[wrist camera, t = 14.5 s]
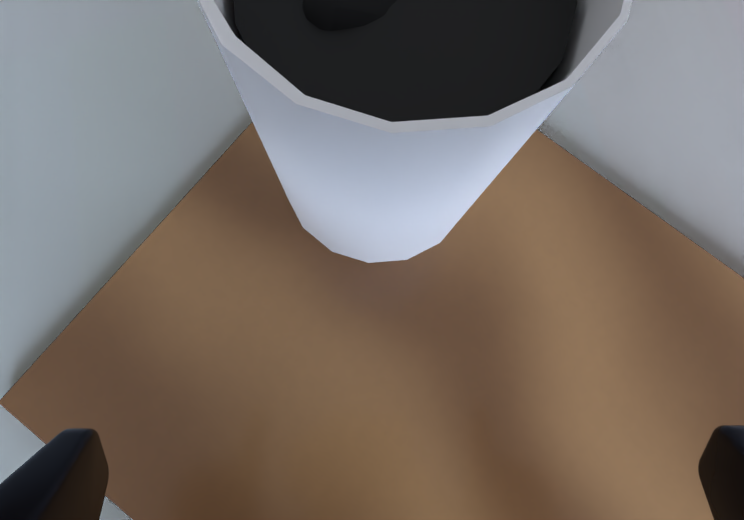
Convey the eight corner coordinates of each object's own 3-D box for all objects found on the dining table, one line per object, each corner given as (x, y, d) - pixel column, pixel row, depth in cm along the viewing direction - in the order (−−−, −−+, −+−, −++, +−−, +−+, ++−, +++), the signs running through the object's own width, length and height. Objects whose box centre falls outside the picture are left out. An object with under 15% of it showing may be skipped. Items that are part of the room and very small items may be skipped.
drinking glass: (252, 265, 18) (133, 103, 8) (284, 59, 19) (217, -296, 9) (480, 290, 18) (645, 162, 8) (494, 83, 19) (647, -242, 9)
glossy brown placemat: (597, 916, 15) (604, 930, 14) (5, 402, 17) (-4, 402, 16) (889, 390, 18) (901, 390, 18) (359, 9, 20) (359, 1, 20)
